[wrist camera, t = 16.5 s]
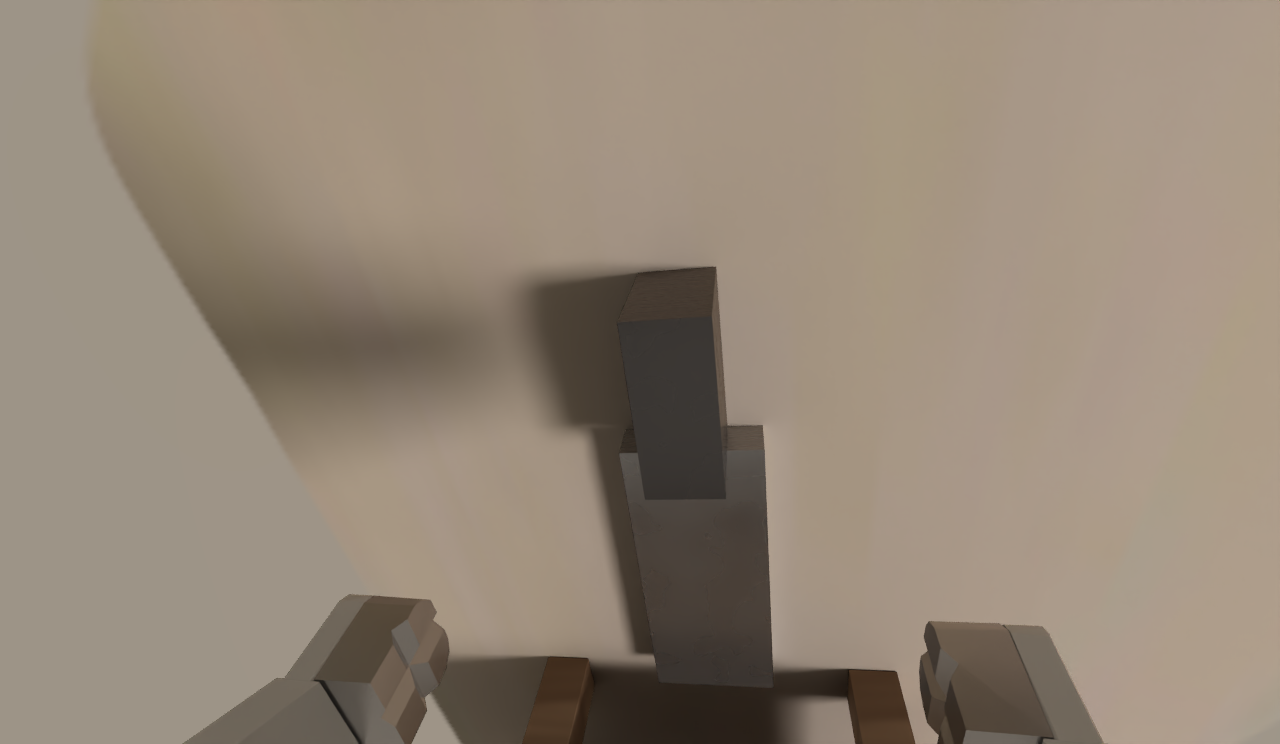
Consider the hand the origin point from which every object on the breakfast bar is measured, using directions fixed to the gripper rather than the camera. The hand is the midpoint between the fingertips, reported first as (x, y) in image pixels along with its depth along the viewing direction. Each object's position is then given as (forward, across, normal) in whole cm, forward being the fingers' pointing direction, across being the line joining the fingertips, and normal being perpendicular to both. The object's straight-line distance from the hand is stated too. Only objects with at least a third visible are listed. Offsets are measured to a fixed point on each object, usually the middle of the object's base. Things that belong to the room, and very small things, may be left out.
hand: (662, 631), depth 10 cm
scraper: (+11, +1, +7) cm, 14 cm away
